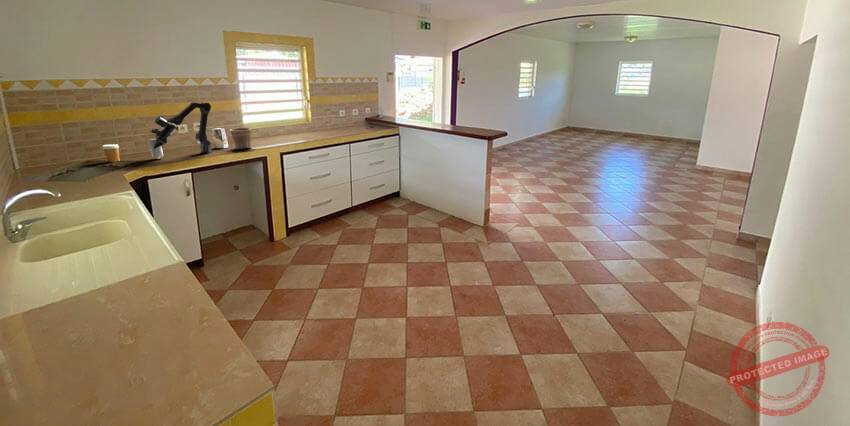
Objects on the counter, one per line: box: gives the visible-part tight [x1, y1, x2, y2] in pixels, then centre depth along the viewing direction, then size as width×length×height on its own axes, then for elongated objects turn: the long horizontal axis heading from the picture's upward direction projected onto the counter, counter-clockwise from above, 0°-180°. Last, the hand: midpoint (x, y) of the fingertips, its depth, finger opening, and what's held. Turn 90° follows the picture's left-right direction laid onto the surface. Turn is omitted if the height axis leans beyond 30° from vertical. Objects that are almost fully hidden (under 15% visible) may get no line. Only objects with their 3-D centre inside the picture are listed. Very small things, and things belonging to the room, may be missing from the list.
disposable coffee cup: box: [102, 143, 121, 163], centre depth 290 cm, size 10×10×12 cm
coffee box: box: [211, 127, 229, 149], centre depth 343 cm, size 9×6×16 cm
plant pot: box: [229, 127, 252, 150], centre depth 340 cm, size 16×16×16 cm
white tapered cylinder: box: [148, 138, 164, 158], centre depth 298 cm, size 7×7×12 cm
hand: (153, 147), depth 297 cm, fingers closed on white tapered cylinder, 7 cm apart
